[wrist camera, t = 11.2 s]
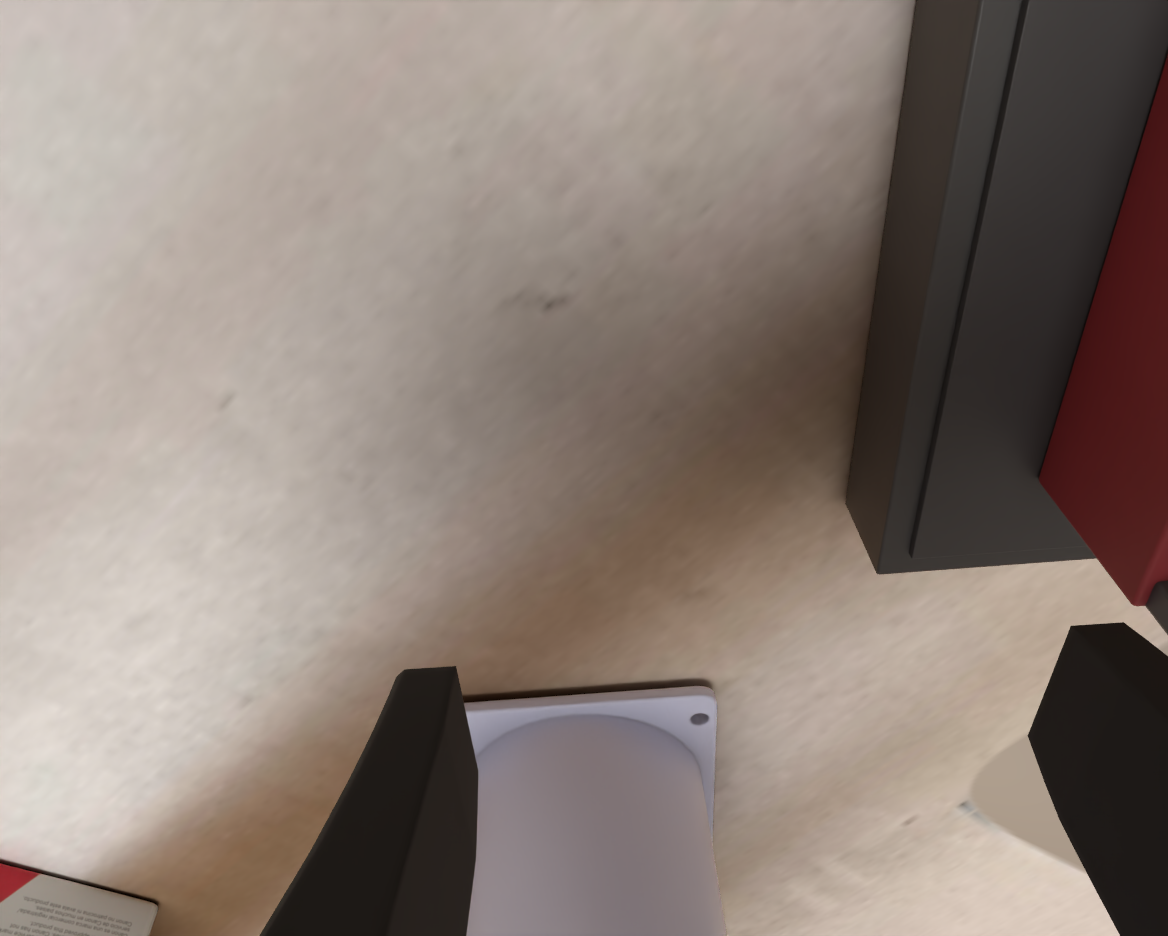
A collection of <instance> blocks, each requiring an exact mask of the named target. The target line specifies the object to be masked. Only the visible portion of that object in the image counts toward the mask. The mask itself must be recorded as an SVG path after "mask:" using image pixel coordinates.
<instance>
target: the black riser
mask: <svg viewBox="0 0 1168 936" xmlns="http://www.w3.org/2000/svg"><path fill="white" fill-rule="evenodd" d="M1167 55H1168V0H917V3H916V10H915V17H914V24H913V31H912V38H911V45H910V52H909V59H908V66H907V73H906V80H905V88H904V95H903V102H902V109H901V116H900V123H899V130H898V137H897V144H896V151H895V158H894V165H893V172H892V179H891V187H890V194H889V201H888V208H887V215H886V222H885V229H884V236H883V243H882V250H881V257H880V264H879V271H878V278H877V286H876V293H875V300H874V307H873V314H872V321H871V328H870V335H869V342H868V349H867V356H866V363H865V370H864V377H863V385H862V392H861V399H860V406H859V413H858V420H857V427H856V434H855V441H854V448H853V455H852V462H851V469H850V476H849V484H848V491H847V498H846V505H847V508H848V510H849V512H850V514H851V517H852V519H853V521H854V523H855V526H856V528H857V530H858V532H859V535H860V537H861V539H862V541H863V544H864V546H865V548H866V550H867V553H868V555H869V557H870V559H871V562H872V564H873V566H874V568H875V571H876V573H877V574H891V573H905V572H918V571H932V570H946V569H959V568H973V567H986V566H1000V565H1013V564H1027V563H1040V562H1054V561H1067V560H1081V559H1094V558H1096V556H1095V555H1094V554H1093V552H1092V551H1091V550H1090V548H1089V547H1088V546H1087V545H1086V543H1085V542H1084V541H1083V539H1082V538H1081V537H1080V535H1079V534H1078V533H1077V531H1076V530H1075V529H1074V527H1073V526H1072V525H1071V523H1070V522H1069V521H1068V519H1067V518H1066V517H1065V515H1064V514H1063V513H1062V511H1061V510H1060V509H1059V507H1058V506H1057V505H1056V503H1055V502H1054V501H1053V500H1052V498H1051V497H1050V496H1049V494H1048V493H1047V492H1046V490H1045V489H1044V488H1043V486H1042V485H1041V484H1040V482H1039V476H1040V473H1041V469H1042V466H1043V463H1044V460H1045V456H1046V453H1047V450H1048V446H1049V443H1050V440H1051V437H1052V433H1053V430H1054V427H1055V423H1056V420H1057V417H1058V413H1059V410H1060V407H1061V404H1062V400H1063V397H1064V394H1065V390H1066V387H1067V384H1068V381H1069V377H1070V374H1071V371H1072V367H1073V364H1074V361H1075V358H1076V354H1077V351H1078V348H1079V344H1080V341H1081V338H1082V335H1083V331H1084V328H1085V325H1086V321H1087V318H1088V315H1089V311H1090V308H1091V305H1092V302H1093V298H1094V295H1095V292H1096V288H1097V285H1098V282H1099V279H1100V275H1101V272H1102V269H1103V265H1104V262H1105V259H1106V256H1107V252H1108V249H1109V246H1110V242H1111V239H1112V236H1113V233H1114V229H1115V226H1116V223H1117V219H1118V216H1119V213H1120V209H1121V206H1122V203H1123V200H1124V196H1125V193H1126V190H1127V186H1128V183H1129V180H1130V177H1131V173H1132V170H1133V167H1134V163H1135V160H1136V157H1137V154H1138V150H1139V147H1140V144H1141V140H1142V137H1143V134H1144V130H1145V127H1146V124H1147V121H1148V117H1149V114H1150V111H1151V107H1152V104H1153V101H1154V98H1155V94H1156V91H1157V88H1158V84H1159V81H1160V78H1161V75H1162V71H1163V68H1164V65H1165V61H1166V58H1167Z"/></svg>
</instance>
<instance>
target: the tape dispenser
mask: <svg viewBox="0 0 1168 936" xmlns="http://www.w3.org/2000/svg"><path fill="white" fill-rule="evenodd" d="M1039 482H1040V484H1041V485H1042V486H1043V488H1044V489H1045V490H1046V492H1047V493H1048V494H1049V496H1050V497H1051V498H1052V500H1053V501H1054V502H1055V503H1056V505H1057V506H1058V507H1059V509H1060V510H1061V511H1062V513H1063V514H1064V515H1065V517H1066V518H1067V519H1068V521H1069V522H1070V523H1071V525H1072V526H1073V527H1074V529H1075V530H1076V531H1077V533H1078V534H1079V535H1080V537H1081V538H1082V539H1083V541H1084V542H1085V543H1086V545H1087V546H1088V547H1089V548H1090V550H1091V551H1092V552H1093V554H1094V555H1095V556H1096V558H1097V559H1098V560H1099V562H1100V563H1101V564H1102V566H1103V567H1104V568H1105V570H1106V571H1107V572H1108V574H1109V575H1110V576H1111V578H1112V579H1113V580H1114V582H1115V583H1116V584H1117V586H1118V587H1119V588H1120V589H1121V591H1122V592H1123V593H1124V595H1125V596H1126V597H1127V599H1128V600H1129V601H1130V603H1131V604H1132V605H1134V606H1146V607H1147V609H1148V610H1149V611H1150V613H1151V614H1152V615H1153V616H1154V618H1155V619H1156V620H1157V622H1158V623H1159V624H1160V625H1161V627H1162V628H1163V629H1164V631H1165V632H1166V633H1167V635H1168V55H1167V58H1166V61H1165V65H1164V68H1163V71H1162V75H1161V78H1160V81H1159V84H1158V88H1157V91H1156V94H1155V98H1154V101H1153V104H1152V107H1151V111H1150V114H1149V117H1148V121H1147V124H1146V127H1145V130H1144V134H1143V137H1142V140H1141V144H1140V147H1139V150H1138V154H1137V157H1136V160H1135V163H1134V167H1133V170H1132V173H1131V177H1130V180H1129V183H1128V186H1127V190H1126V193H1125V196H1124V200H1123V203H1122V206H1121V209H1120V213H1119V216H1118V219H1117V223H1116V226H1115V229H1114V233H1113V236H1112V239H1111V242H1110V246H1109V249H1108V252H1107V256H1106V259H1105V262H1104V265H1103V269H1102V272H1101V275H1100V279H1099V282H1098V285H1097V288H1096V292H1095V295H1094V298H1093V302H1092V305H1091V308H1090V311H1089V315H1088V318H1087V321H1086V325H1085V328H1084V331H1083V335H1082V338H1081V341H1080V344H1079V348H1078V351H1077V354H1076V358H1075V361H1074V364H1073V367H1072V371H1071V374H1070V377H1069V381H1068V384H1067V387H1066V390H1065V394H1064V397H1063V400H1062V404H1061V407H1060V410H1059V413H1058V417H1057V420H1056V423H1055V427H1054V430H1053V433H1052V437H1051V440H1050V443H1049V446H1048V450H1047V453H1046V456H1045V460H1044V463H1043V466H1042V469H1041V473H1040V476H1039Z"/></svg>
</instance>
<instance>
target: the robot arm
mask: <svg viewBox="0 0 1168 936" xmlns="http://www.w3.org/2000/svg"><path fill="white" fill-rule="evenodd" d="M716 728H717V701H716V696H715V692H714V691H713V690H712V689H710V688H708V687H705V686H689V687H675V688H662V689H648V690H634V691H620V692H606V693H593V694H579V695H565V696H551V697H537V698H524V699H510V700H496V701H482V702H468V703H464V702H463V697H462V692H461V688H460V683H459V678H458V674H457V669H456V666H452V667H437V668H422V669H406V670H403V671H402V672H401V673H400V674H399V675H398V676H397V677H396V679H395V682H394V684H393V686H392V689H391V691H390V694H389V696H388V699H387V701H386V703H385V705H384V708H383V710H382V712H381V714H380V717H379V719H378V721H377V723H376V725H375V728H374V730H373V732H372V734H371V736H370V738H369V740H368V742H367V744H366V747H365V749H364V751H363V753H362V755H361V757H360V759H359V761H358V763H357V765H356V767H355V769H354V771H353V773H352V775H351V777H350V779H349V781H348V783H347V784H346V786H345V788H344V790H343V792H342V794H341V796H340V797H339V799H338V801H337V803H336V805H335V807H334V809H333V810H332V812H331V814H330V816H329V818H328V820H327V822H326V823H325V825H324V827H323V829H322V831H321V833H320V834H319V836H318V838H317V840H316V842H315V844H314V845H313V847H312V849H311V851H310V853H309V854H308V856H307V858H306V859H305V861H304V863H303V865H302V866H301V868H300V870H299V871H298V873H297V875H296V876H295V878H294V879H293V881H292V883H291V884H290V886H289V888H288V889H287V891H286V893H285V894H284V896H283V898H282V899H281V901H280V903H279V904H278V906H277V908H276V909H275V911H274V913H273V914H272V916H271V918H270V919H269V921H268V923H267V924H266V926H265V928H264V929H263V931H262V932H261V934H260V936H727V931H726V925H725V919H724V913H723V906H722V900H721V894H720V888H719V882H718V876H717V870H716V864H715V857H714V851H713V845H712V842H713V813H714V785H715V756H716ZM1028 737H1029V740H1030V743H1031V746H1032V748H1033V751H1034V754H1035V757H1036V759H1037V762H1038V765H1039V768H1040V771H1041V773H1042V776H1043V779H1044V782H1045V784H1046V787H1047V789H1048V791H1049V794H1050V796H1051V799H1052V802H1053V804H1054V807H1055V809H1056V812H1057V814H1058V817H1059V819H1060V821H1061V823H1062V825H1063V827H1064V829H1065V831H1066V833H1067V835H1068V837H1069V839H1070V841H1071V843H1072V845H1073V847H1074V849H1075V851H1076V852H1077V854H1078V856H1079V858H1080V860H1081V862H1082V864H1083V866H1084V868H1085V870H1086V872H1087V874H1088V876H1089V878H1090V880H1091V881H1092V883H1093V885H1094V887H1095V889H1096V891H1097V893H1098V895H1099V897H1100V899H1101V900H1102V902H1103V904H1104V906H1105V908H1106V910H1107V912H1108V914H1109V915H1110V917H1111V919H1112V921H1113V923H1114V925H1115V927H1116V929H1117V930H1118V932H1119V934H1120V936H1168V656H1167V655H1165V654H1164V653H1163V652H1162V651H1160V650H1159V649H1158V648H1156V647H1155V646H1154V645H1153V644H1151V643H1150V642H1149V641H1147V640H1146V639H1145V638H1144V637H1142V636H1141V635H1140V634H1138V633H1137V632H1136V631H1134V630H1133V629H1132V628H1130V627H1129V626H1128V625H1126V624H1125V623H1108V624H1093V625H1078V626H1071V627H1070V630H1069V632H1068V635H1067V638H1066V640H1065V643H1064V645H1063V648H1062V650H1061V653H1060V655H1059V658H1058V660H1057V663H1056V666H1055V668H1054V671H1053V673H1052V676H1051V678H1050V681H1049V683H1048V686H1047V688H1046V691H1045V693H1044V696H1043V699H1042V701H1041V704H1040V706H1039V709H1038V711H1037V714H1036V716H1035V719H1034V721H1033V724H1032V727H1031V729H1030V732H1029V734H1028Z"/></svg>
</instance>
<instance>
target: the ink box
mask: <svg viewBox="0 0 1168 936" xmlns="http://www.w3.org/2000/svg"><path fill="white" fill-rule="evenodd" d="M157 911H158V906H157V905H156V904H154V903H152V902H148V901H145V900H141V899H137V898H133V897H130V896H126V895H122V894H118V893H114V892H110V891H107V890H103V889H99V888H95V887H91V886H87V885H83V884H79V883H76V882H72V881H68V880H64V879H60V878H56V877H52V876H48V875H44V874H40V873H36V872H32V871H27V870H24V869H21V868H17V867H12V866H8V865H4V864H0V936H149V934H150V931H151V928H152V925H153V922H154V919H155V917H156V914H157Z"/></svg>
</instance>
